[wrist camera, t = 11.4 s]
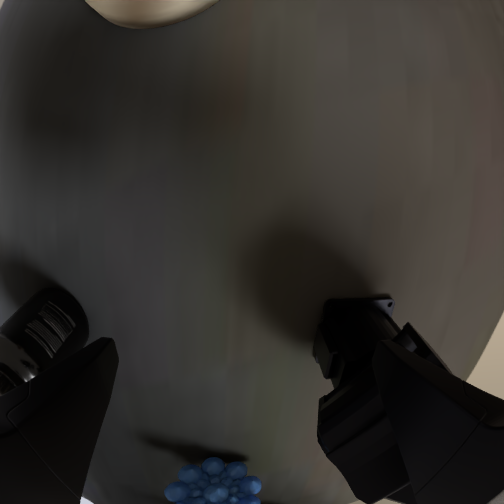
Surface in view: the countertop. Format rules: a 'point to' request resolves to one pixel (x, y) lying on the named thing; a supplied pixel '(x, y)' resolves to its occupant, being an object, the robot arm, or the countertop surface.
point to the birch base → (149, 11)
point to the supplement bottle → (40, 337)
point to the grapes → (214, 484)
